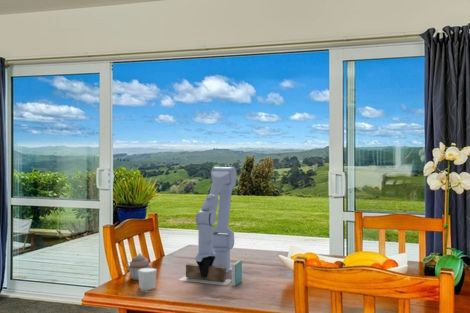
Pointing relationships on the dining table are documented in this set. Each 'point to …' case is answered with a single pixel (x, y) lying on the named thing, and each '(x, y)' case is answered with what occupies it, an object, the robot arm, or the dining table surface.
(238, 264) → the tile
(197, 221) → the robot arm
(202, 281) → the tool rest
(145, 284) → the shot glass
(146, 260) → the cupcake
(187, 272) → the bar
